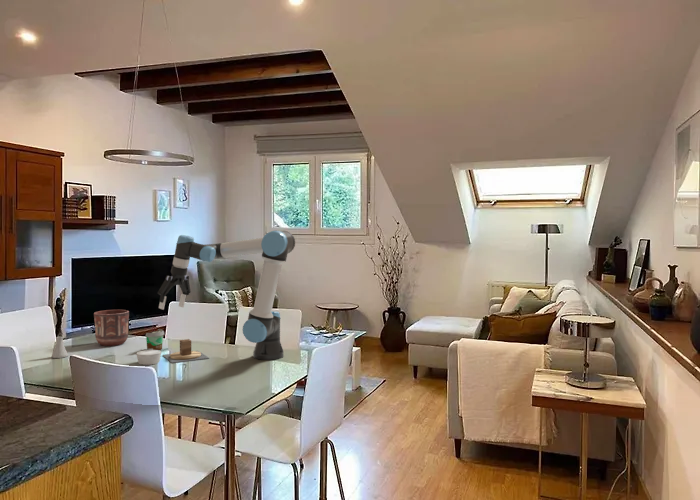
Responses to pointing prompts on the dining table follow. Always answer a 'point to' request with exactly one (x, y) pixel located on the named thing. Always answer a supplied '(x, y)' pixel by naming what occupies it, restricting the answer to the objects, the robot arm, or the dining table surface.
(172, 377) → the dining table surface
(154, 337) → the food container
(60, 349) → the flask
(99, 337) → the pottery
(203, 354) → the rubber mat
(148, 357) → the ramekin
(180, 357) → the oak lid
